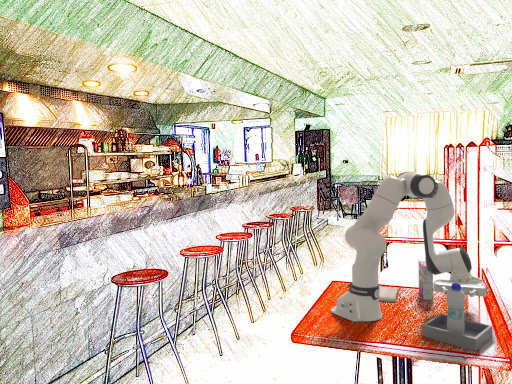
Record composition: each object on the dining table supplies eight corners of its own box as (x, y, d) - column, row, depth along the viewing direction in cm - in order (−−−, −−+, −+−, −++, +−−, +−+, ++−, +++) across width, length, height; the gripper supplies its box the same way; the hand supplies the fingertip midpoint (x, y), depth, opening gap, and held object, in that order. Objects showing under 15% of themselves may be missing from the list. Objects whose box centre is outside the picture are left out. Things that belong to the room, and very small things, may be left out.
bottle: (467, 338, 172) (467, 286, 170) (448, 337, 173) (448, 285, 171) (462, 330, 178) (463, 280, 176) (444, 330, 180) (444, 280, 178)
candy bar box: (417, 292, 228) (418, 260, 226) (428, 293, 227) (428, 260, 225) (422, 300, 217) (422, 266, 215) (433, 300, 216) (433, 266, 214)
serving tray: (422, 336, 177) (422, 324, 177) (440, 323, 188) (440, 313, 188) (475, 351, 163) (476, 339, 162) (492, 337, 174) (492, 326, 173)
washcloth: (399, 292, 231) (399, 286, 231) (396, 303, 215) (396, 297, 214) (374, 290, 236) (374, 284, 235) (370, 301, 219) (370, 295, 219)
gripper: (434, 274, 201) (431, 283, 188) (486, 278, 192) (486, 288, 179) (434, 288, 201) (431, 298, 189) (486, 293, 192) (486, 304, 180)
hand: (458, 293), depth 184 cm, fingers open, 8 cm apart
